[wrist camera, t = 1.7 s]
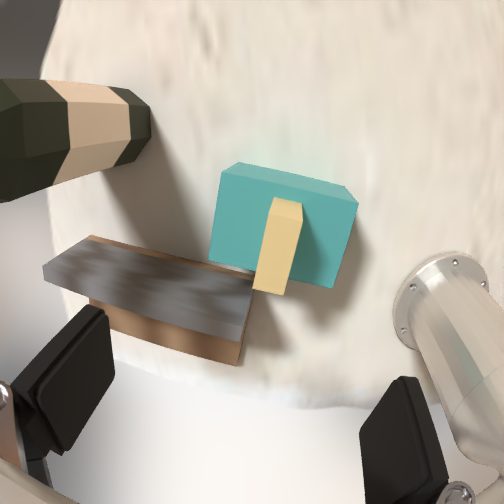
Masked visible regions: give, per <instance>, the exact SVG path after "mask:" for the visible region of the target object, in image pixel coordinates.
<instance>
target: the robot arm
mask: <svg viewBox="0 0 504 504" xmlns="http://www.w3.org/2000/svg"><path fill="white" fill-rule="evenodd" d="M393 322H394V326H395V329H396V332H397V334H398V336H399V337H400V339H401V340H402V341H403V342H404V343H405V344H406V345H407V346H409V347H411V348H413V349H415V350H420V352H421V354H422V357H423V359H424V361H425V364H426V366H427V368H428V371H429V373H430V376H431V378H432V380H433V383H434V385H435V388H436V391H437V393H438V396H439V398H440V401H441V404H442V406H443V409H444V412H445V414H446V417H447V420H448V423H449V426H450V429H451V431H452V434H453V437H454V440H455V442H456V444H457V446H458V448H459V450H460V451H461V452H462V453H463V455H464V456H465V457H467V458H468V459H470V460H472V461H474V462H476V463H479V464H483V465H487V466H490V467H493V468H495V469H497V470H498V472H499V477H498V479H497V480H496V481H495V482H494V483H492V484H491V485H490V486H488V487H487V488H486V489H484V490H483V491H482V492H481V493H479V494H478V495H476V496H475V494H474V491H473V490H472V489H471V487H470V486H469V485H467V484H466V483H464V482H461V481H454V482H451V483H448V479H449V476H448V472H447V468H446V465H445V461H444V457H443V454H442V450H441V447H440V443H439V440H438V437H437V433H436V430H435V427H434V424H433V421H432V418H431V415H430V412H429V409H428V406H427V403H426V400H425V397H424V394H423V392H422V389H421V386H420V383H419V381H418V379H417V378H416V377H407V376H400V377H398V379H397V380H394V381H393V382H392V383H391V385H390V386H389V388H388V389H387V391H386V392H385V394H384V395H383V397H382V398H381V400H380V401H379V403H378V404H377V406H376V407H375V408H374V410H373V411H372V413H371V414H370V416H369V417H368V418H367V420H366V421H365V422H364V424H363V425H362V427H361V429H360V432H359V439H360V447H361V457H362V466H363V477H364V489H365V502H366V504H504V310H503V309H502V308H501V306H500V305H499V304H498V303H497V302H496V301H495V300H494V299H493V297H492V296H491V295H490V294H489V283H488V279H487V275H486V273H485V271H484V269H483V267H482V266H481V265H480V264H479V263H478V262H477V261H476V260H474V259H473V258H472V257H470V256H468V255H466V254H463V253H458V252H450V253H444V254H440V255H436V256H434V257H432V258H430V259H428V260H426V261H425V262H424V263H422V264H421V265H419V266H418V267H417V268H416V269H415V270H414V271H413V272H412V273H411V274H410V275H409V276H408V277H407V279H406V280H405V281H404V282H403V284H402V286H401V288H400V289H399V291H398V294H397V296H396V299H395V302H394V307H393ZM114 376H115V369H114V360H113V353H112V344H111V335H110V325H109V317H108V316H107V315H105V311H104V310H103V309H101V308H98V307H95V306H93V305H90V304H87V305H86V306H84V307H83V308H82V309H81V310H80V311H79V312H78V313H77V314H76V315H75V316H74V317H73V318H72V319H71V320H70V321H69V322H68V323H67V325H66V326H64V328H63V329H62V330H61V331H60V332H59V333H58V334H57V335H56V336H55V337H54V338H53V339H52V340H51V341H50V342H49V343H48V344H47V345H46V346H45V347H44V348H43V349H42V350H41V351H40V352H39V353H38V355H37V356H36V357H35V358H34V359H33V360H32V361H31V362H30V363H29V364H28V366H27V367H26V368H25V369H24V370H23V371H22V372H21V373H20V374H19V376H18V377H17V378H16V379H15V380H14V381H13V382H12V383H11V385H10V386H9V385H8V384H6V383H5V382H4V381H1V380H0V504H79V503H77V502H75V501H73V500H71V499H69V498H68V497H66V496H64V495H62V494H60V493H58V492H57V491H55V490H54V488H53V484H52V481H51V477H50V472H49V468H48V464H47V460H46V456H47V454H48V452H49V451H50V450H52V451H53V452H55V453H57V454H59V455H60V456H62V455H63V453H64V451H69V450H70V449H71V448H72V446H73V444H74V443H75V441H76V439H77V438H78V436H79V434H80V433H81V431H82V429H83V428H84V426H85V425H86V423H87V421H88V419H89V418H90V416H91V415H92V413H93V411H94V410H95V408H96V407H97V405H98V404H99V402H100V400H101V399H102V397H103V396H104V394H105V392H106V391H107V389H108V388H109V386H110V385H111V383H112V381H113V379H114Z"/></svg>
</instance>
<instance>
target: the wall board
mask: <svg viewBox="0 0 504 504" xmlns="http://www.w3.org/2000/svg"><path fill="white" fill-rule="evenodd" d="M43 274H44V280H45V281H47V282H50V283H52V284H55V285H57V286H60V287H63V288H65V289H68V290H70V291H73V292H76V293H78V294H81V295H84V296H87V297H89V303H90V305H93V306H95V307H98V308H101V309H103V310H104V311H105V315H107V316H108V317H109V325H110V329H113V330H116V331H119V332H121V333H124V334H127V335H130V336H133V337H136V338H139V339H142V340H145V341H148V342H151V343H154V344H157V345H160V346H164V347H167V348H170V349H174V350H177V351H180V352H184V353H187V354H191V355H194V356H198V357H201V358H205V359H209V360H213V361H217V362H220V363H224V364H228V365H232V366H237V362H238V358H239V354H240V350H241V345H242V341H243V336H244V332H245V328H246V323H247V319H248V314H249V310H250V306H251V301H252V297H253V292H254V289H252V288H253V283H254V278H255V275H250V274H246V273H242V272H237V271H233V270H229V269H225V268H221V267H216V266H212V265H208V264H204V263H200V262H196V261H192V260H188V259H183V258H179V257H175V256H171V255H167V254H163V253H159V252H155V251H151V250H147V249H143V248H139V247H136V246H132V245H128V244H124V243H120V242H116V241H112V240H108V239H105V238H101V237H97V236H93V235H90V236H88V237H87V238H85V239H83V240H82V241H80V242H79V243H77V244H75V245H74V246H72V247H71V248H69V249H68V250H66V251H64V252H63V253H61V254H60V255H58V256H57V257H55V258H54V259H52V260H51V261H49V262H48V263H46V264H45V265H43Z"/></svg>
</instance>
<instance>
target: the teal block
mask: <svg viewBox="0 0 504 504" xmlns="http://www.w3.org/2000/svg"><path fill="white" fill-rule="evenodd" d="M358 205H359V203H358V202H357V201H356V200H355V198H354V197H353V196H352V195H351V194H350V192H349V191H348V190H347V189H346V188H345V186H341V185H337V184H333V183H329V182H325V181H321V180H317V179H313V178H309V177H305V176H301V175H297V174H292V173H288V172H283V171H279V170H274V169H270V168H265V167H260V166H255V165H250V164H245V163H240V162H239V163H237V164H235V165H233V166H231V167H230V168H228V169H226V170H224V171H223V172H222V173H221V179H220V185H219V191H218V197H217V204H216V210H215V216H214V223H213V229H212V236H211V243H210V249H209V256H208V260H210V261H214V262H218V263H223V264H227V265H231V266H235V267H240V268H244V269H248V270H253V271H256V274H255V278H254V283H253V288H252V289H257V290H261V291H265V292H270V293H274V294H278V295H283V294H284V291H285V287H286V284H287V280H288V279H292V280H296V281H301V282H305V283H309V284H314V285H318V286H323V287H327V288H333V285H334V282H335V279H336V276H337V273H338V270H339V267H340V264H341V261H342V258H343V255H344V251H345V248H346V245H347V242H348V239H349V235H350V232H351V229H352V225H353V222H354V219H355V215H356V212H357V208H358Z"/></svg>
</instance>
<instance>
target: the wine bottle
mask: <svg viewBox="0 0 504 504" xmlns="http://www.w3.org/2000/svg"><path fill="white" fill-rule="evenodd" d="M150 138H151V127H150V111H149V106H148V105H147V104H146V103H145V102H143V101H142V100H141V99H140V98H139V97H137V96H136V95H135V94H134V93H133V92H131V91H130V90H129V89H123V88H116V87H109V86H102V85H94V84H86V83H76V82H66V81H53V80H35V79H0V203H4V202H10V201H12V200H15V199H18V198H20V197H23V196H25V195H28V194H31V193H33V192H36V191H39V190H42V189H45V188H47V187H50V186H53V185H56V184H59V183H62V182H65V181H68V180H71V179H75V178H78V177H81V176H84V175H87V174H91V173H94V172H97V171H101V170H104V169H108V168H112V167H115V166H119V165H123V164H126V163H130V162H134V161H135V159H136V158H137V156H138V155H139V153H140V152H141V151H142V149H143V148H144V146H145V145H146V144H147V142H148V141H149V140H150Z"/></svg>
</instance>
